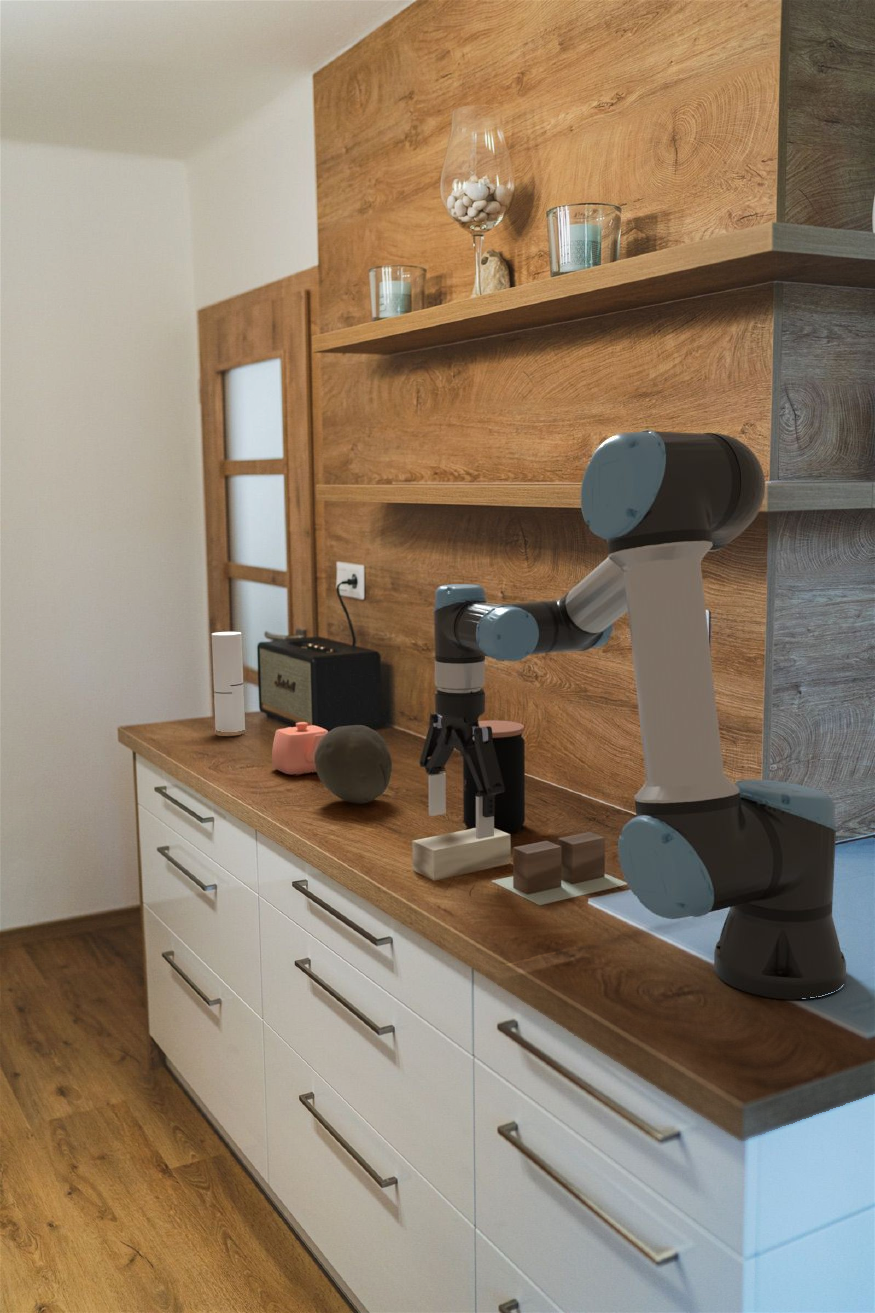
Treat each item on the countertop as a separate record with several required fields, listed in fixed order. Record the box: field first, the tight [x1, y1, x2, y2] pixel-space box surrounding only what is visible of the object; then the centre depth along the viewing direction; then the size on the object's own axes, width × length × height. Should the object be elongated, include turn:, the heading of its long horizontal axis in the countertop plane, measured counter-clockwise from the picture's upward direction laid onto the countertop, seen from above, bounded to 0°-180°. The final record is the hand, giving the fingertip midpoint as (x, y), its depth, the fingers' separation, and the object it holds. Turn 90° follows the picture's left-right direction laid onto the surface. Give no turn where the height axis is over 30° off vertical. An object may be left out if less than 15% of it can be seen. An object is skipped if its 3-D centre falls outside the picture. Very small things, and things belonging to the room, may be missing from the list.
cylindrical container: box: [211, 631, 246, 732], centre depth 281 cm, size 7×7×25 cm
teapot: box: [271, 721, 329, 776], centre depth 243 cm, size 12×18×10 cm, turn 31°
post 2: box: [557, 831, 606, 884], centre depth 169 cm, size 4×6×6 cm, turn 121°
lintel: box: [411, 828, 512, 882], centre depth 175 cm, size 6×14×6 cm, turn 123°
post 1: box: [512, 840, 561, 895], centre depth 165 cm, size 4×6×6 cm, turn 121°
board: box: [491, 873, 628, 906], centre depth 168 cm, size 12×16×1 cm
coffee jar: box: [462, 719, 526, 835], centre depth 199 cm, size 11×11×18 cm
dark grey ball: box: [315, 724, 393, 805], centre depth 216 cm, size 14×14×15 cm
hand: (460, 825), depth 175 cm, fingers open, 13 cm apart
